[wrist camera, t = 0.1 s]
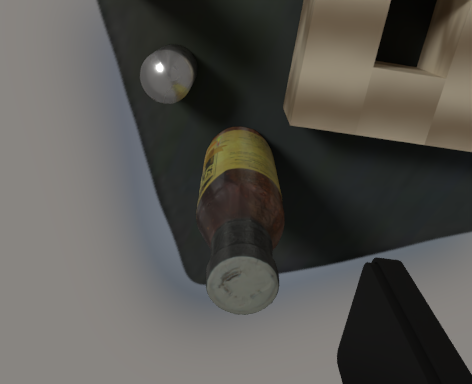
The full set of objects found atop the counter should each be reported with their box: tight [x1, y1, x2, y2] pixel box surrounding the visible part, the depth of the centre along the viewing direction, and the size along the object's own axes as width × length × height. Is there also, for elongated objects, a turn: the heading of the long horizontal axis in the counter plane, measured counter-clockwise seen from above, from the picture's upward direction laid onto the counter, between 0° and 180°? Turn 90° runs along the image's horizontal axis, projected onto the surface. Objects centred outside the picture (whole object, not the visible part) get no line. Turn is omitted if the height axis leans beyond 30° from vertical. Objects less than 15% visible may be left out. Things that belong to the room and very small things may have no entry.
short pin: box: [140, 44, 198, 103], centre depth 36 cm, size 4×4×5 cm
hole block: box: [283, 0, 472, 152], centre depth 34 cm, size 16×16×6 cm
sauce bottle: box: [196, 126, 285, 315], centre depth 33 cm, size 6×6×20 cm
